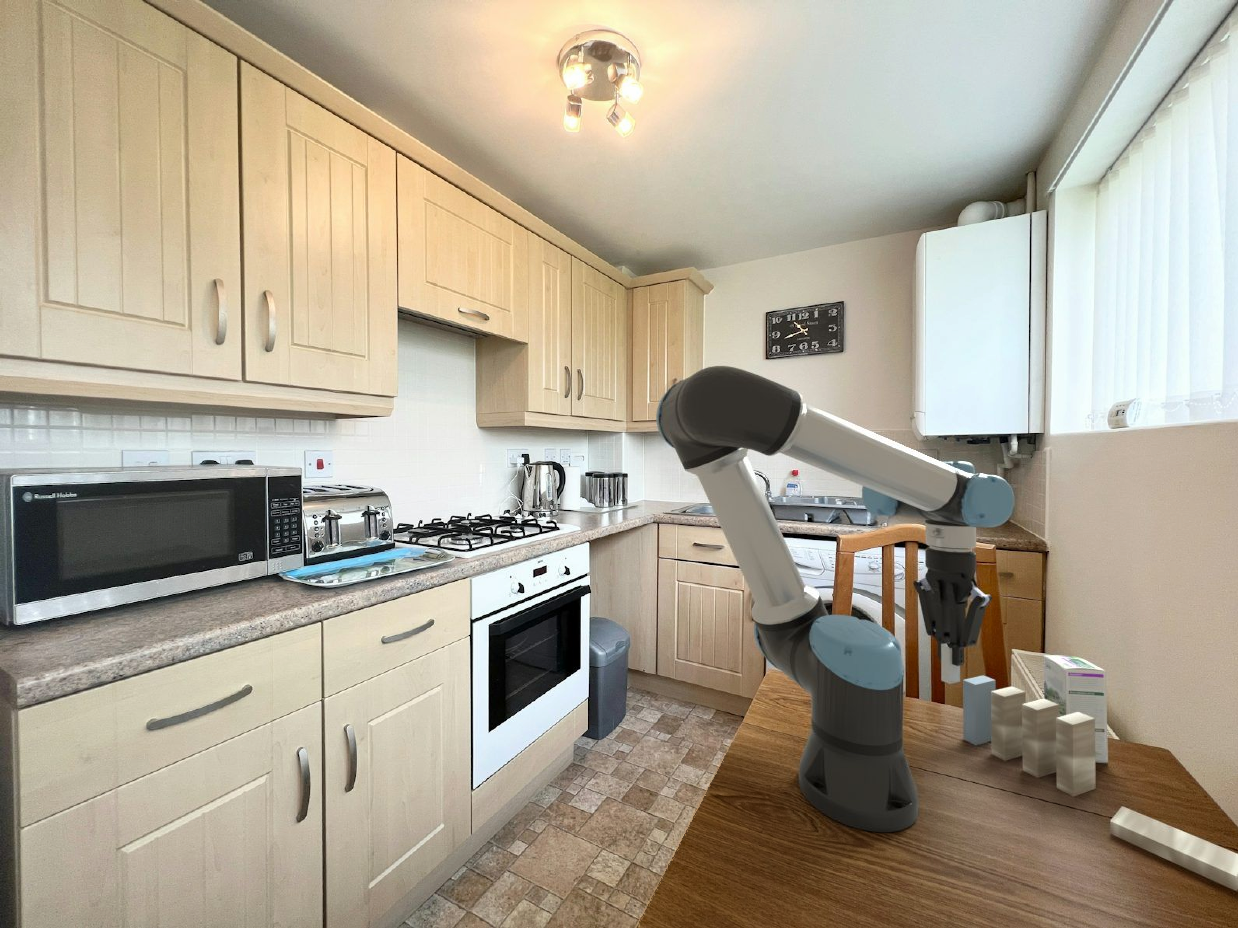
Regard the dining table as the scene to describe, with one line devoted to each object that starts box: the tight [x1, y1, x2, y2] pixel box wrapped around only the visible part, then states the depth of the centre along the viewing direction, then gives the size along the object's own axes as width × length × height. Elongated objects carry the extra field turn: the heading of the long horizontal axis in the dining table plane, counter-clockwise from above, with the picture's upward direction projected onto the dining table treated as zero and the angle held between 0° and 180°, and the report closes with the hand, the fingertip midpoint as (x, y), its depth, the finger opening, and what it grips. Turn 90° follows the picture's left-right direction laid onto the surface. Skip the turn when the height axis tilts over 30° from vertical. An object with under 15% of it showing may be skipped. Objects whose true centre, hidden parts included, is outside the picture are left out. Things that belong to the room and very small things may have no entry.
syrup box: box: [1043, 654, 1109, 764], centre depth 80 cm, size 6×6×14 cm
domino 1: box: [962, 674, 997, 746], centre depth 83 cm, size 2×5×10 cm, turn 110°
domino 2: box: [990, 686, 1027, 761], centre depth 79 cm, size 2×5×10 cm, turn 110°
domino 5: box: [1109, 806, 1238, 892], centre depth 59 cm, size 2×5×10 cm
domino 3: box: [1022, 698, 1059, 779], centre depth 75 cm, size 2×5×10 cm, turn 110°
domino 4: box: [1056, 712, 1096, 798], centre depth 71 cm, size 2×5×10 cm, turn 110°
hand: (950, 680), depth 88 cm, fingers closed
